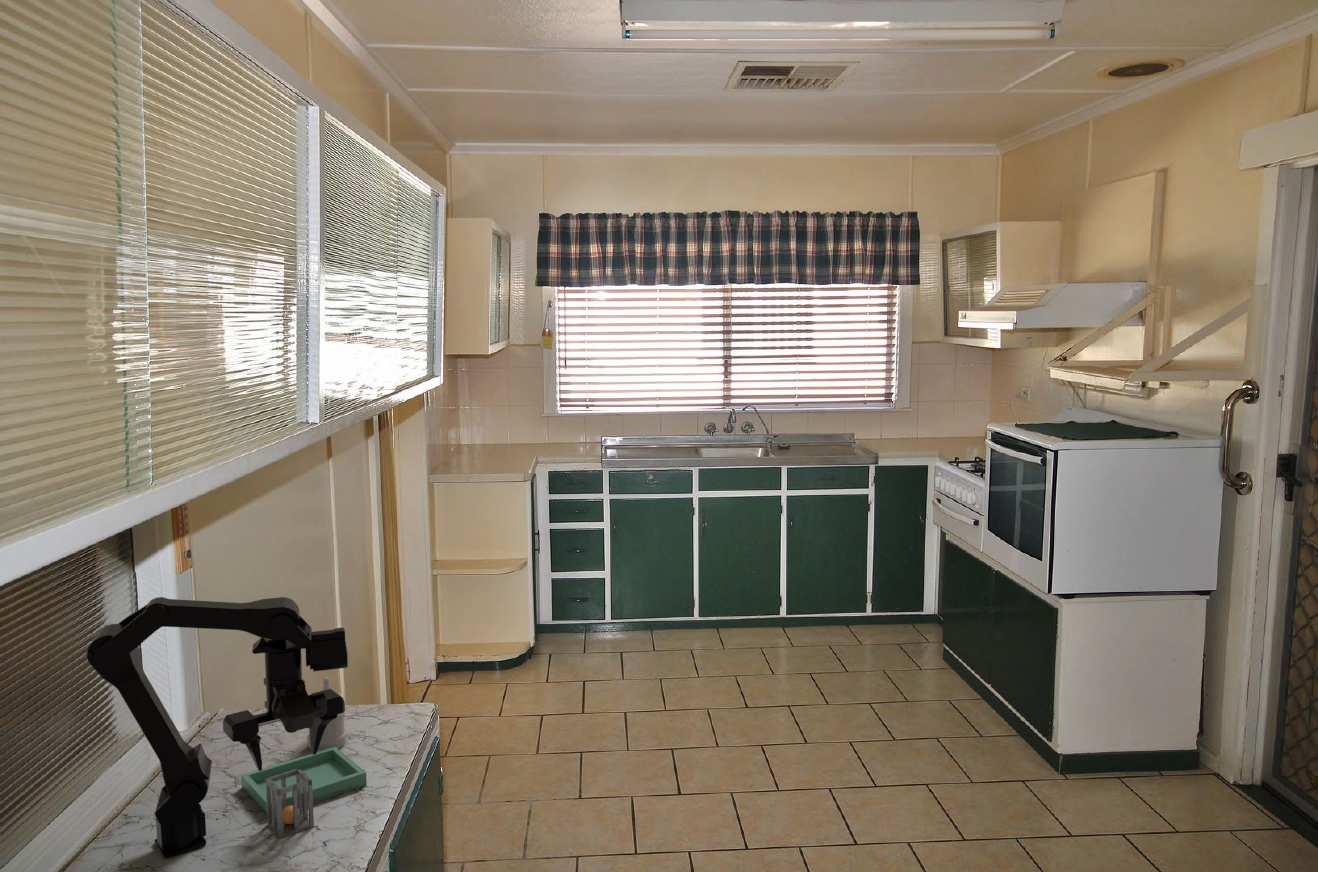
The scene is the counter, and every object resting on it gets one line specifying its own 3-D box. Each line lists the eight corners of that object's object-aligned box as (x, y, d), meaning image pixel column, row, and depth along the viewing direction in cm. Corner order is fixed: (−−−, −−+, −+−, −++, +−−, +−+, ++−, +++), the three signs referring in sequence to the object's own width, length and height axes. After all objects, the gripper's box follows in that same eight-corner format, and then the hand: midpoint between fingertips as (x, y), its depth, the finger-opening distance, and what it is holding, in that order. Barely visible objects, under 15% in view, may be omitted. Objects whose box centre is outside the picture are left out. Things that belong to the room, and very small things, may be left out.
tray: (268, 817, 167) (267, 804, 167) (241, 787, 178) (241, 775, 177) (366, 785, 179) (366, 772, 179) (336, 758, 189) (335, 746, 189)
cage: (279, 839, 161) (277, 791, 160) (267, 825, 165) (265, 778, 164) (314, 827, 164) (311, 780, 163) (301, 813, 169) (299, 768, 168)
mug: (306, 755, 191) (303, 697, 189) (309, 730, 202) (307, 676, 200) (346, 750, 193) (344, 693, 191) (347, 726, 204) (345, 672, 203)
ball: (285, 829, 163) (284, 812, 162) (278, 823, 165) (277, 806, 165) (302, 823, 164) (301, 806, 164) (296, 817, 167) (295, 800, 166)
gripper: (242, 703, 149) (246, 797, 151) (357, 674, 161) (359, 762, 163) (219, 682, 157) (224, 772, 159) (330, 656, 170) (333, 740, 172)
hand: (287, 761), depth 163 cm, fingers open, 9 cm apart
